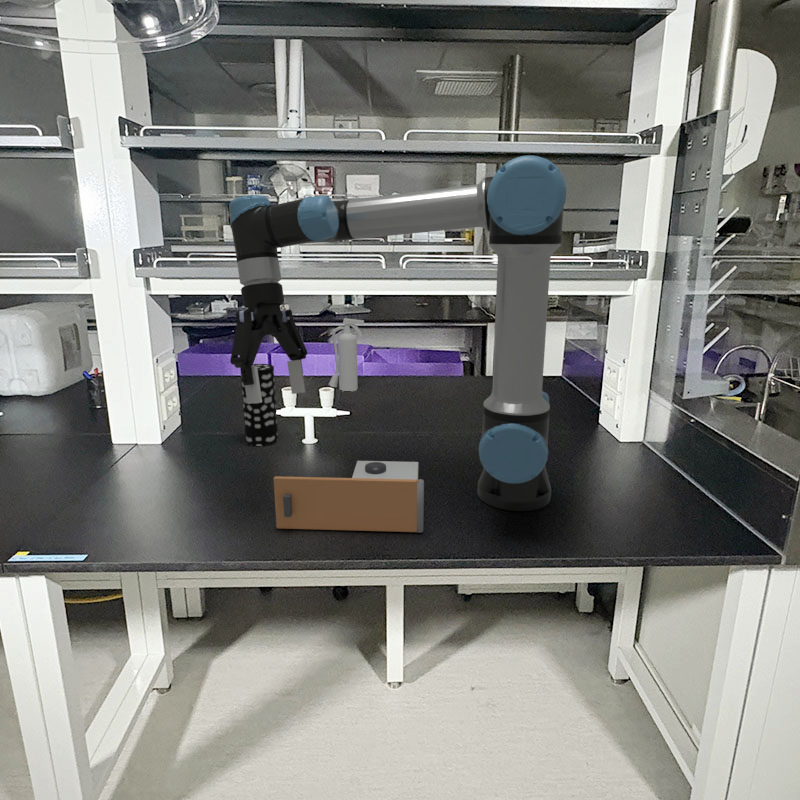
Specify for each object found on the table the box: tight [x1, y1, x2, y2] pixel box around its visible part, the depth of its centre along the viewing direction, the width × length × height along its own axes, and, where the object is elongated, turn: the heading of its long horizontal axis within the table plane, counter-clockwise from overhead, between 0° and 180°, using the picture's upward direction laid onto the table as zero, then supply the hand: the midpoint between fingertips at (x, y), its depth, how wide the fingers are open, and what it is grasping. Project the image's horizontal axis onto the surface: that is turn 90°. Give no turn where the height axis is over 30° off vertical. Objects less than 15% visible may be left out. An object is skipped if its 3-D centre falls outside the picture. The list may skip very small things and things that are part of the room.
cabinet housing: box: [351, 460, 419, 480], centre depth 112 cm, size 12×9×11 cm
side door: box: [273, 475, 425, 533], centre depth 107 cm, size 27×2×10 cm, turn 87°
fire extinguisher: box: [327, 317, 365, 392], centre depth 203 cm, size 7×12×25 cm, turn 87°
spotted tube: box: [239, 363, 279, 447], centre depth 153 cm, size 8×8×20 cm
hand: (278, 398), depth 111 cm, fingers open, 13 cm apart
